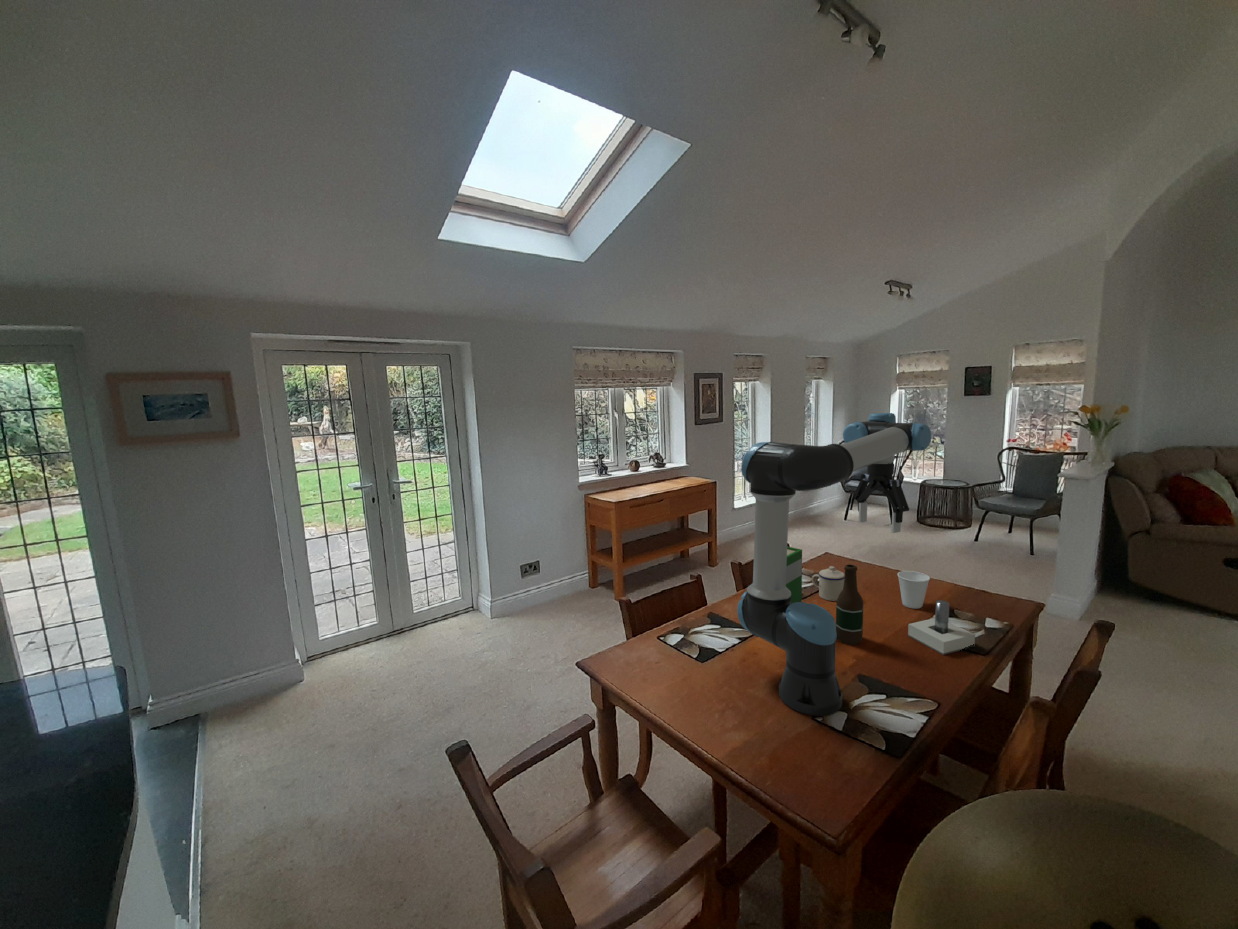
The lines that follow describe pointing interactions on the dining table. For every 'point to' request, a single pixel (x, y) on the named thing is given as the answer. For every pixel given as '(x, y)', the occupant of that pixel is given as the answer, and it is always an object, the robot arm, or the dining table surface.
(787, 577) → the hardback book
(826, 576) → the teacup with lid
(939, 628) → the pin
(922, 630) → the bore block
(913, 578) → the cup
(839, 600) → the beer bottle
